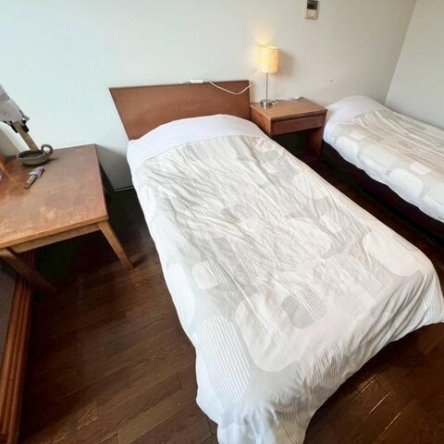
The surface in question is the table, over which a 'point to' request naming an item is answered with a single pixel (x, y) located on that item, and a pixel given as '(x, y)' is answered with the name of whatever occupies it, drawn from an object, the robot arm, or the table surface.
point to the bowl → (35, 155)
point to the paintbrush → (33, 176)
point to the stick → (25, 136)
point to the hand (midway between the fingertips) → (22, 131)
